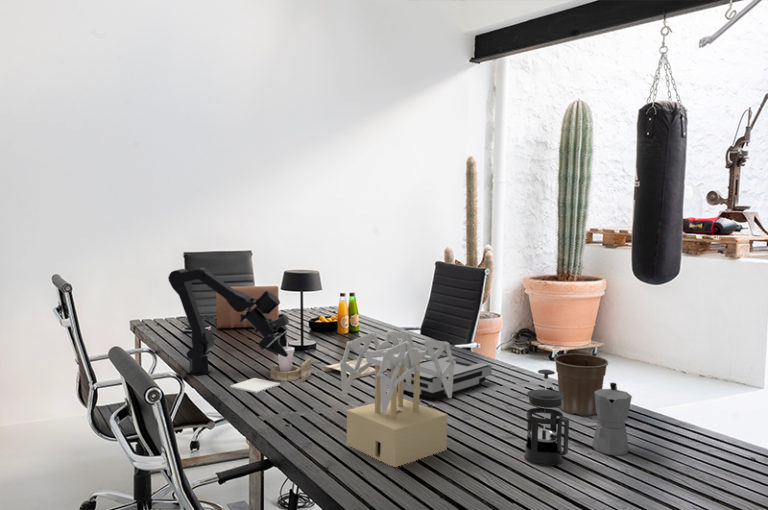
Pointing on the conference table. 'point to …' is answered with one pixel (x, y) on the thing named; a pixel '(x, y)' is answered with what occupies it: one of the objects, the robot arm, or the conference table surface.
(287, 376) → the segmented octagon frame
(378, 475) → the conference table surface
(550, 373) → the french press
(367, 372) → the newspaper
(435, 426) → the kinetic sculpture
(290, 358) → the smoothie
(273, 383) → the coaster
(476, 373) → the game console
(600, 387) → the plant pot
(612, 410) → the coffeepot
